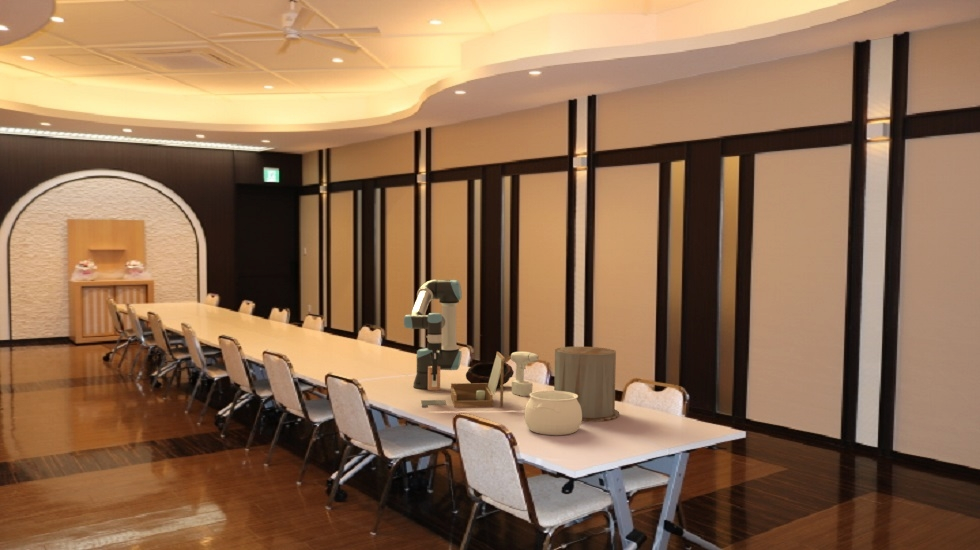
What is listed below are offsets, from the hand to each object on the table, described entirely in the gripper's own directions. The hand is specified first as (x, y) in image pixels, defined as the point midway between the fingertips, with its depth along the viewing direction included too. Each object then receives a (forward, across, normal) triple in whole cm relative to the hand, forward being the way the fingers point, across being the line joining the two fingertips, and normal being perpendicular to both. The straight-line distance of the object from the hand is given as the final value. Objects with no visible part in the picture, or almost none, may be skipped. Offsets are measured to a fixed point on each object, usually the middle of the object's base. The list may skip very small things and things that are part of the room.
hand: (433, 385), depth 395 cm
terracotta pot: (+2, 0, 0) cm, 2 cm away
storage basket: (+11, +27, +75) cm, 80 cm away
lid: (-7, 0, +33) cm, 33 cm away
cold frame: (+10, +1, +23) cm, 25 cm away
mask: (+10, -48, +36) cm, 61 cm away
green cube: (+9, 0, +25) cm, 27 cm away
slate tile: (+10, 0, 0) cm, 10 cm away
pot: (+11, +59, +52) cm, 79 cm away
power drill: (+10, -23, +53) cm, 59 cm away
